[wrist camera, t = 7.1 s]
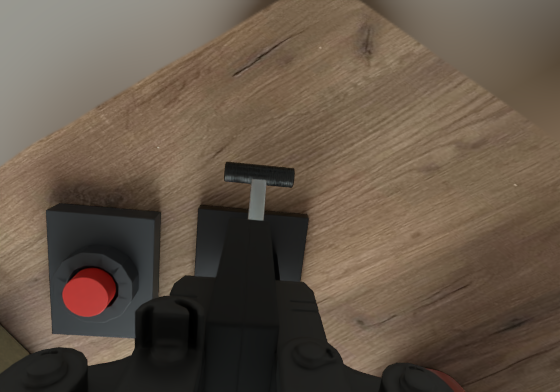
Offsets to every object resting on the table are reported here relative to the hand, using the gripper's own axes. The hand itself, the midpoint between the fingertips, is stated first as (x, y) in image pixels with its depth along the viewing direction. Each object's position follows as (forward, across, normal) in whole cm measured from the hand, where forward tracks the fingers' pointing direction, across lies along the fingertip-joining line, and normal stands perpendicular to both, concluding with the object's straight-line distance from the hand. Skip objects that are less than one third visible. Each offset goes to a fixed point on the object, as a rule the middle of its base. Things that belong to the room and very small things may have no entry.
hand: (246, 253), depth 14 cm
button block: (+20, -13, -11) cm, 26 cm away
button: (+16, -13, -11) cm, 23 cm away
